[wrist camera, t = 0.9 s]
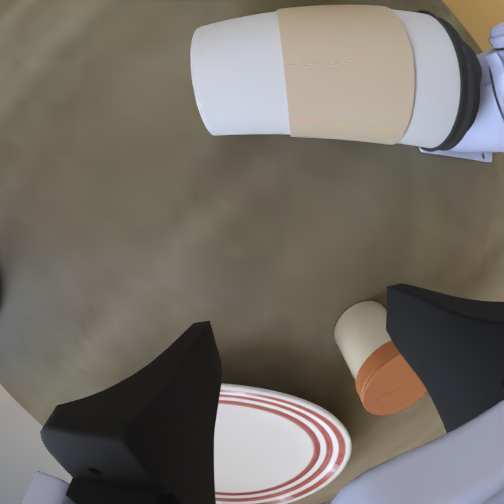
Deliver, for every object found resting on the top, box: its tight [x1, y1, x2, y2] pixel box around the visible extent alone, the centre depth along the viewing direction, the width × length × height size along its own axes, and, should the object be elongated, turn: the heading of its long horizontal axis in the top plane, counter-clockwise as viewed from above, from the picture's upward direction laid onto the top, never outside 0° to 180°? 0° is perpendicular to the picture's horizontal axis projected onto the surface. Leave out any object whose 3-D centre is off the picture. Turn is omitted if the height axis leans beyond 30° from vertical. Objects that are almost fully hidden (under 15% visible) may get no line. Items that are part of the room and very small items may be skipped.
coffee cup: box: [191, 5, 482, 152], centre depth 13 cm, size 9×9×15 cm
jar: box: [334, 301, 391, 381], centre depth 19 cm, size 5×5×7 cm
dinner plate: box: [214, 383, 352, 504], centre depth 25 cm, size 27×27×3 cm
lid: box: [355, 340, 427, 415], centre depth 16 cm, size 6×6×2 cm
